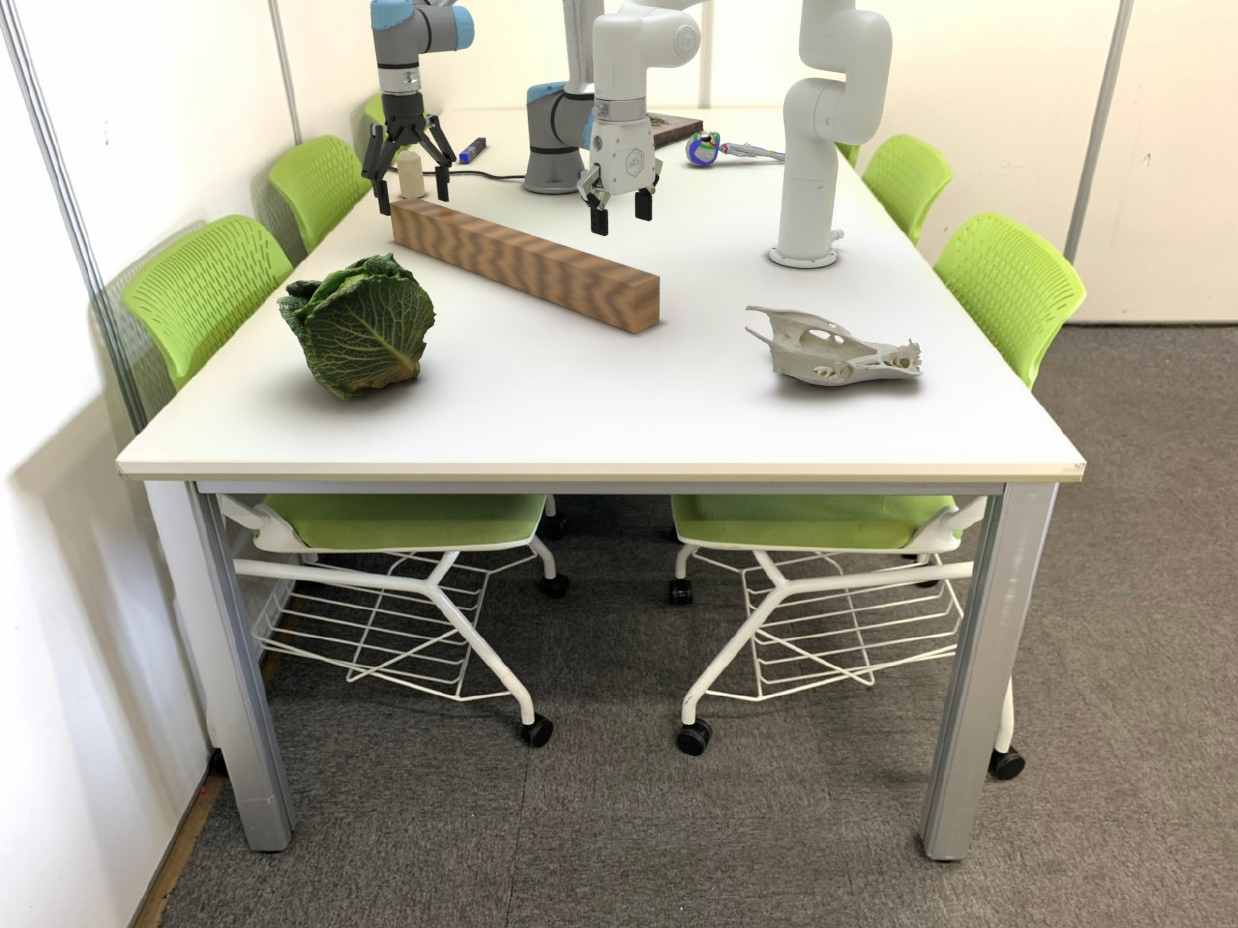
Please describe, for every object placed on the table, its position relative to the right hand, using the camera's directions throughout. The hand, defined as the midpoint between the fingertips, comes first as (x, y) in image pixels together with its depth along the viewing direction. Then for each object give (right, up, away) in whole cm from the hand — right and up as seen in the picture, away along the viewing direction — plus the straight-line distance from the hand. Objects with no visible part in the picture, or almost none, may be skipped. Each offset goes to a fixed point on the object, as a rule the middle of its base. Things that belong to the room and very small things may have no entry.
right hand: (622, 226), depth 138 cm
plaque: (+4, +58, +121) cm, 134 cm away
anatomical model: (+30, -24, -10) cm, 40 cm away
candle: (-49, +26, +71) cm, 90 cm away
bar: (-20, -3, +25) cm, 32 cm away
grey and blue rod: (-40, +47, +104) cm, 121 cm away
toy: (+32, +41, +92) cm, 105 cm away
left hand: (-40, +14, +37) cm, 57 cm away
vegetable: (-36, -25, -10) cm, 45 cm away
